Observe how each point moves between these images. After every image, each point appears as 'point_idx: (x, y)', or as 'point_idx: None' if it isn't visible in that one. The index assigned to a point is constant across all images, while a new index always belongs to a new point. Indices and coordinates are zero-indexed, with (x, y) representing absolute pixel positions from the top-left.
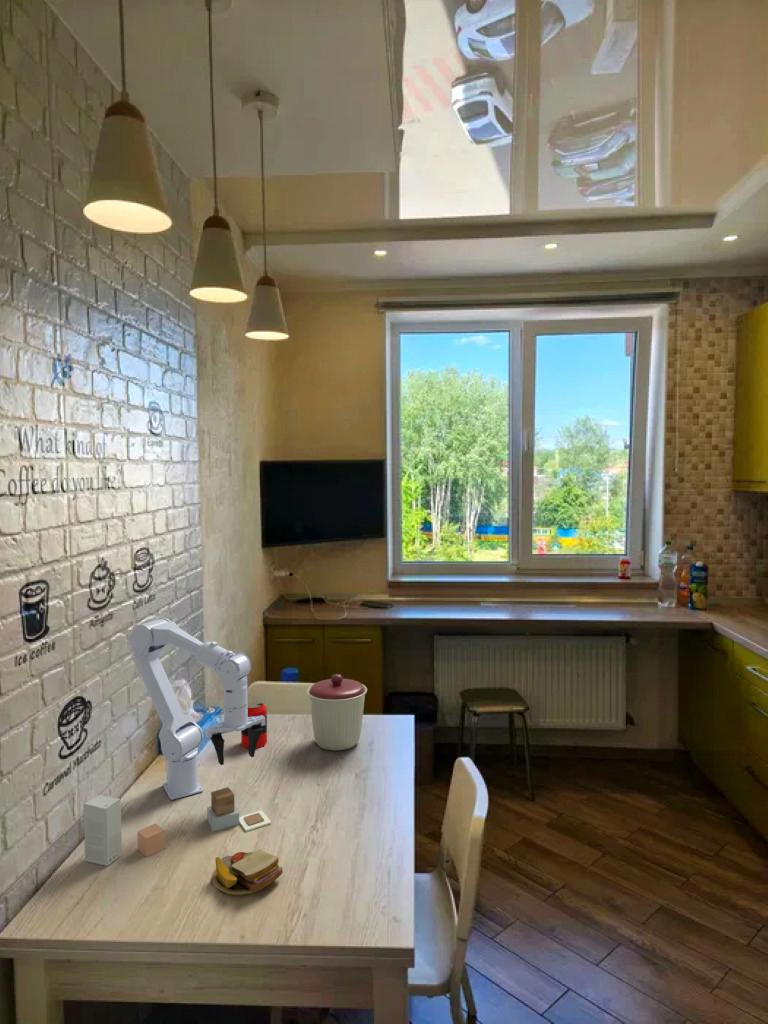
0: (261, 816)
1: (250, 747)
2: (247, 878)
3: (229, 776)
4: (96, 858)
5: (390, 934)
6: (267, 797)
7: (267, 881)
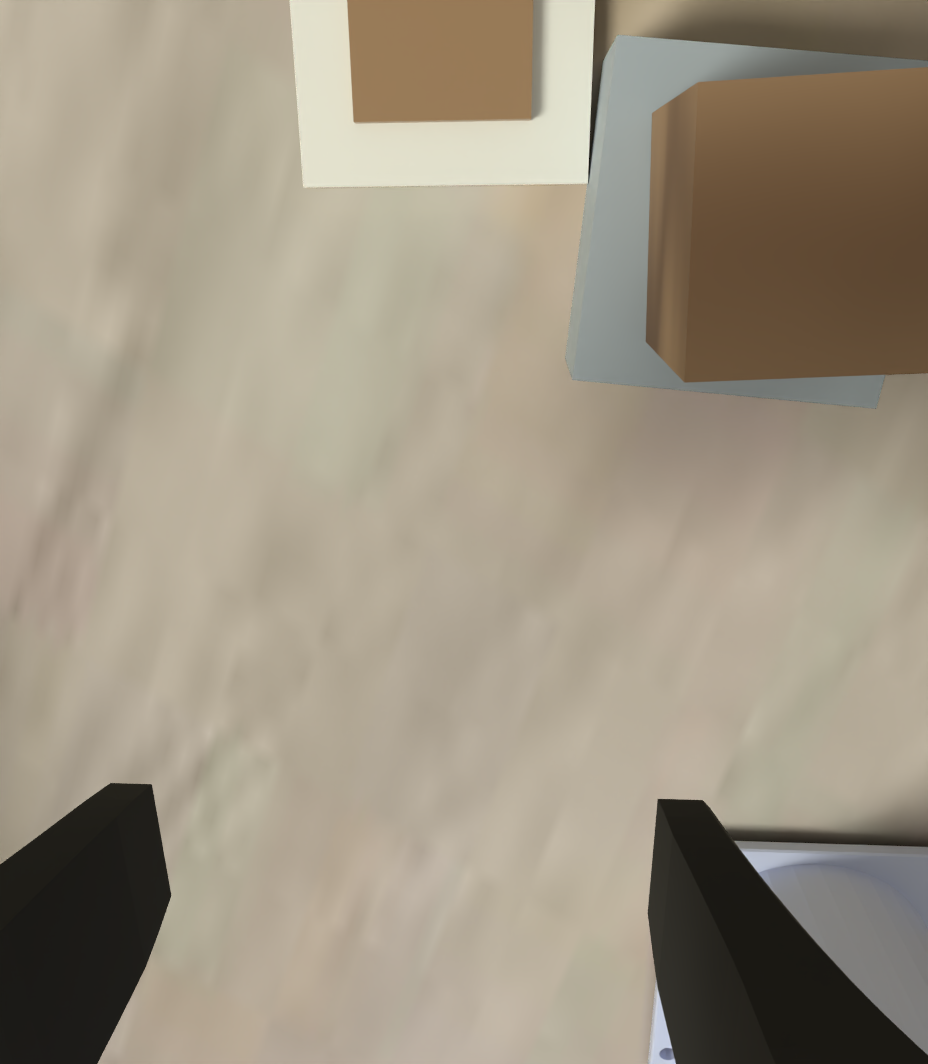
0: (350, 9)
1: (82, 962)
2: None
3: (389, 944)
4: None
5: None
6: (180, 439)
7: None
